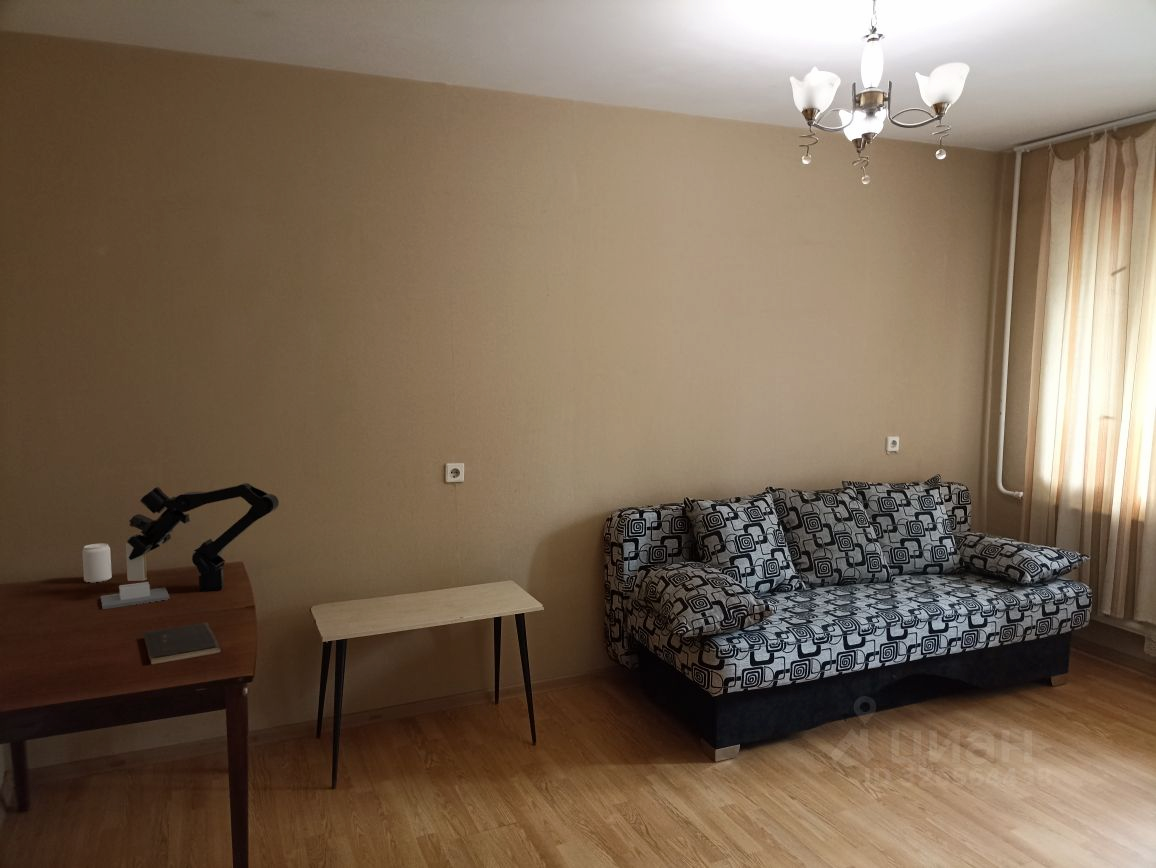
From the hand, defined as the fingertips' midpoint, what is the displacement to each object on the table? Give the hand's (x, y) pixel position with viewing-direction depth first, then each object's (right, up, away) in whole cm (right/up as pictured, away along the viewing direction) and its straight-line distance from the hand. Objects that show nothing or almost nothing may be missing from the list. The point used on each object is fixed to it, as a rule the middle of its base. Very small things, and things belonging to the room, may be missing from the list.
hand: (131, 558), depth 262 cm
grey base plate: (+6, -11, -9) cm, 16 cm away
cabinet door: (+1, -7, +1) cm, 7 cm away
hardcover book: (+41, -15, -52) cm, 68 cm away
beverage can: (-19, -10, +14) cm, 26 cm away
